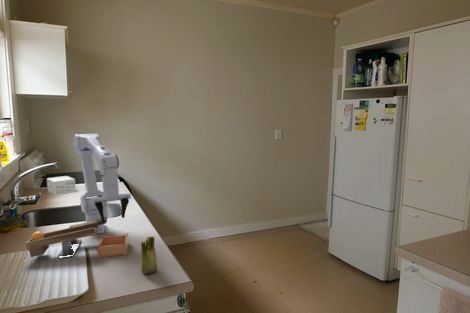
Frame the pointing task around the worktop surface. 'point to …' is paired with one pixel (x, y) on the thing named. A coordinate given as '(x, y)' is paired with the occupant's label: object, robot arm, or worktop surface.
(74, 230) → the wooden tray
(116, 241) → the open box
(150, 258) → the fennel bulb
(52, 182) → the white napkin stack
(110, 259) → the worktop surface
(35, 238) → the ball
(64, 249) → the stand
